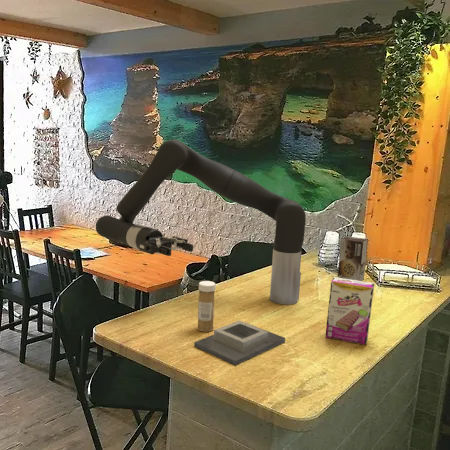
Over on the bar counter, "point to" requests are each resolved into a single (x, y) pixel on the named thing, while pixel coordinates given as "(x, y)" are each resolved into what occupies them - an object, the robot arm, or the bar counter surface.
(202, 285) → the sprinkles bottle
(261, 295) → the bar counter surface
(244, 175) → the robot arm
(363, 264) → the cookie box
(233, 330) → the collar socket
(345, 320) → the candy bar box
